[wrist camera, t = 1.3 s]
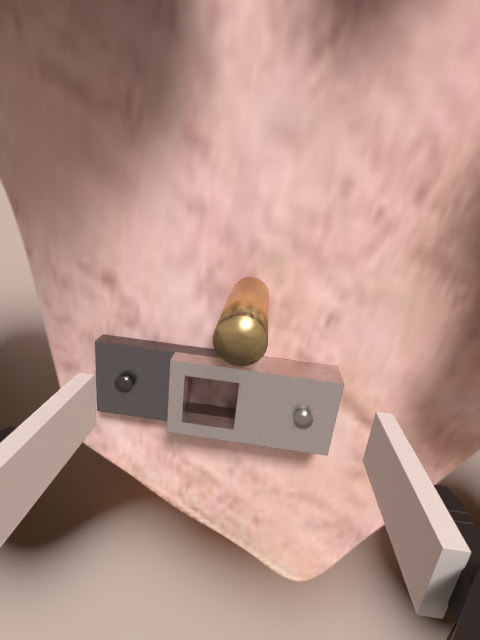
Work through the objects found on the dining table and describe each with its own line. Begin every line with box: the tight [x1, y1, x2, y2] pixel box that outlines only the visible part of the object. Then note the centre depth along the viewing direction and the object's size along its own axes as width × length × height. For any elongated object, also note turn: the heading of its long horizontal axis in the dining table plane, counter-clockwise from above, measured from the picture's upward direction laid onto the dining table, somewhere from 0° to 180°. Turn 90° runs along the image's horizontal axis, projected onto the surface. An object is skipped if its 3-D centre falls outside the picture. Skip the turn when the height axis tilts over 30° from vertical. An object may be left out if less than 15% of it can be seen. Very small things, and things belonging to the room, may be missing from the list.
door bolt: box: [95, 335, 344, 456], centre depth 39 cm, size 9×27×5 cm, turn 84°
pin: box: [213, 277, 269, 367], centre depth 32 cm, size 4×4×13 cm
